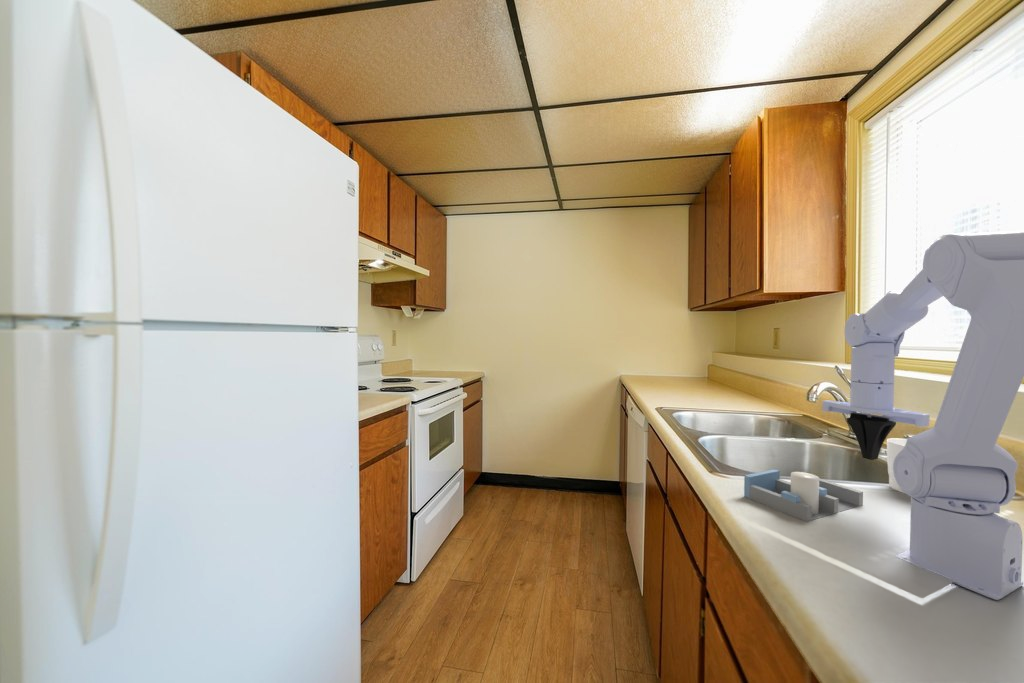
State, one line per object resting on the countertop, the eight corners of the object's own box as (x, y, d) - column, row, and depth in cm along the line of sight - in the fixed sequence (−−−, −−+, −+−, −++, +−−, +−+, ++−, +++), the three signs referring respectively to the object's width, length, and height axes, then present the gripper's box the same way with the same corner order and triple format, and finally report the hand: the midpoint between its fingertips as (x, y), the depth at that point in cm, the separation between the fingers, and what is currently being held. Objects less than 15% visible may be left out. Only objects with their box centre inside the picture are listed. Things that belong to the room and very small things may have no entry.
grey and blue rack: (862, 508, 72) (863, 482, 72) (806, 525, 65) (807, 497, 65) (798, 486, 82) (798, 464, 82) (744, 499, 75) (744, 475, 75)
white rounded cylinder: (823, 512, 68) (824, 477, 68) (809, 516, 67) (810, 481, 67) (799, 503, 72) (799, 470, 72) (785, 506, 71) (785, 473, 70)
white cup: (954, 501, 75) (956, 449, 75) (912, 501, 75) (913, 448, 75) (913, 485, 83) (914, 438, 82) (874, 485, 83) (875, 437, 83)
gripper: (939, 386, 65) (937, 468, 65) (837, 377, 78) (836, 445, 79) (917, 388, 62) (915, 473, 63) (816, 378, 76) (814, 449, 76)
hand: (870, 458), depth 70 cm, fingers closed
